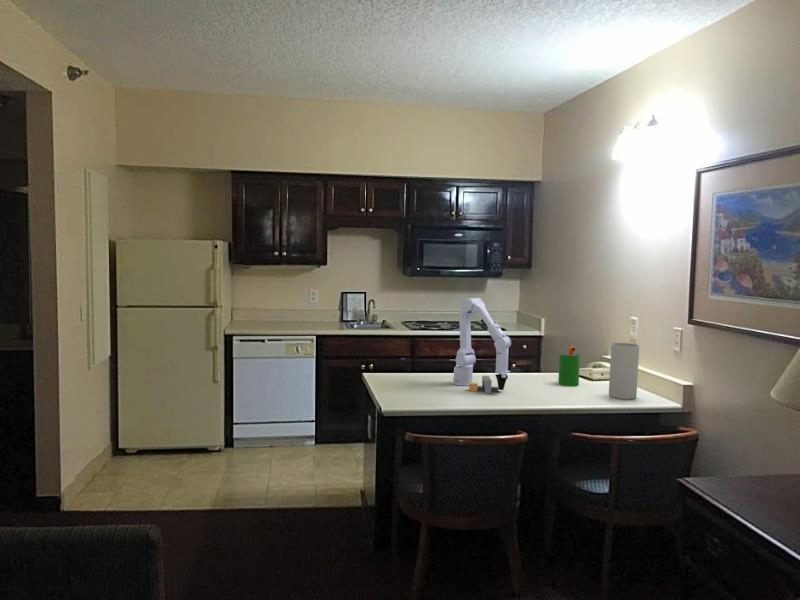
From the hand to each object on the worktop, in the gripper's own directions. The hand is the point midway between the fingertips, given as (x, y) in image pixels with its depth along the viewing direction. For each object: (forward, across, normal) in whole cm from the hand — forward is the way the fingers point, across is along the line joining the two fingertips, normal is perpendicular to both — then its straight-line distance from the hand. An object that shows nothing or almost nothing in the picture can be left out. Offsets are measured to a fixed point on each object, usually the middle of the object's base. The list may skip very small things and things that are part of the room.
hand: (501, 389), depth 316 cm
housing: (+1, 0, +7) cm, 7 cm away
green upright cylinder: (+1, +20, -38) cm, 43 cm away
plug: (+1, +1, +8) cm, 8 cm away
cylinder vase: (+1, -5, -57) cm, 57 cm away
